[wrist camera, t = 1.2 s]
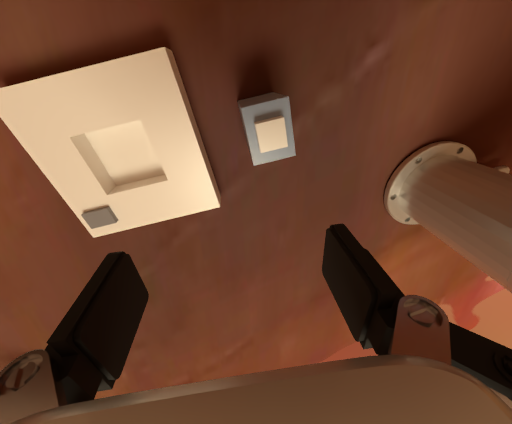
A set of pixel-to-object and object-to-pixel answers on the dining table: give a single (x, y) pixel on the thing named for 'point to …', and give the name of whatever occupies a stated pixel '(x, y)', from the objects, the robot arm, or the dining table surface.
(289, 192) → the dining table surface
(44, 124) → the socket plate
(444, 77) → the dining table surface
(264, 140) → the plug
